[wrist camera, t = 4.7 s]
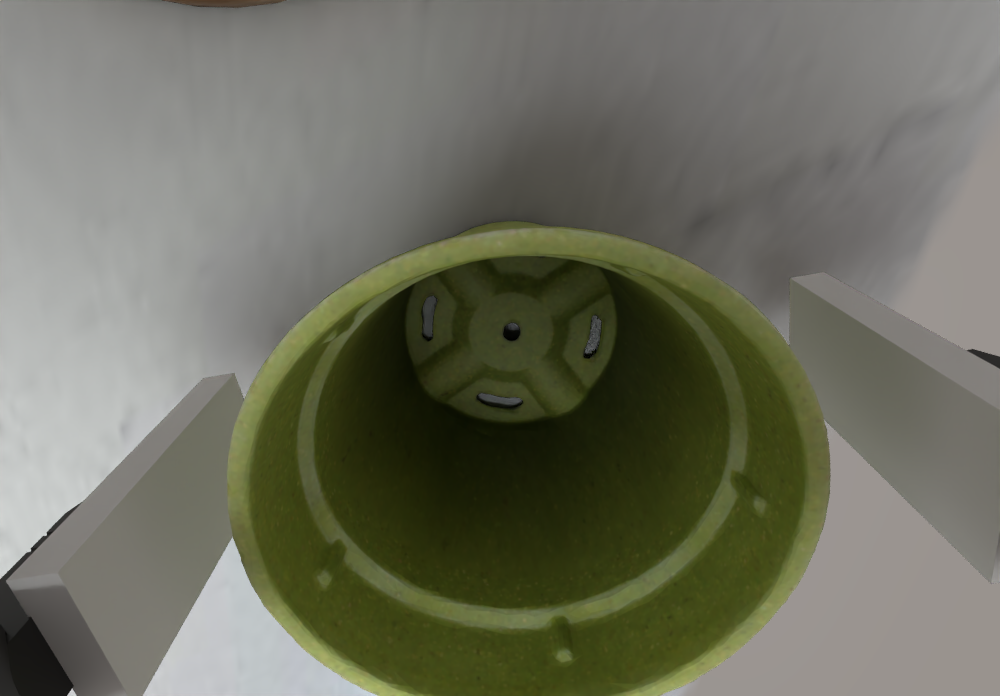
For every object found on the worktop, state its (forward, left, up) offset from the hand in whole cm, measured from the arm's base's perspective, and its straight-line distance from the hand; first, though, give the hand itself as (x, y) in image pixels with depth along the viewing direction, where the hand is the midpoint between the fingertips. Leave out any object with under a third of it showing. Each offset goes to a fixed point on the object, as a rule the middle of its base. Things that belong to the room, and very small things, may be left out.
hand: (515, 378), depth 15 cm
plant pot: (0, 0, -4) cm, 4 cm away
